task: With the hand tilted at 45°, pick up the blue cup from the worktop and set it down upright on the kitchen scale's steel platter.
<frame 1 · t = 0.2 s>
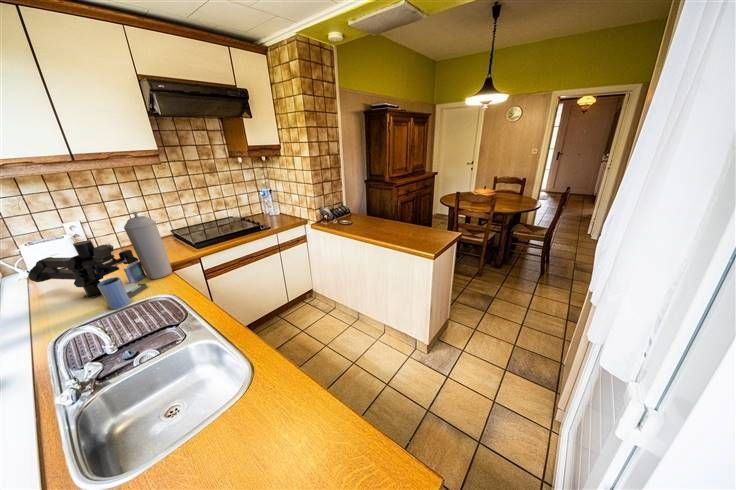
hand: (128, 263, 119), 16 cm above the worktop, tool horizontal, fingers open, 9 cm apart
blue cup: (120, 304, 118), on the worktop
scale: (128, 292, 128), on the worktop
canister: (160, 275, 143), on the worktop
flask: (138, 280, 139), on the worktop
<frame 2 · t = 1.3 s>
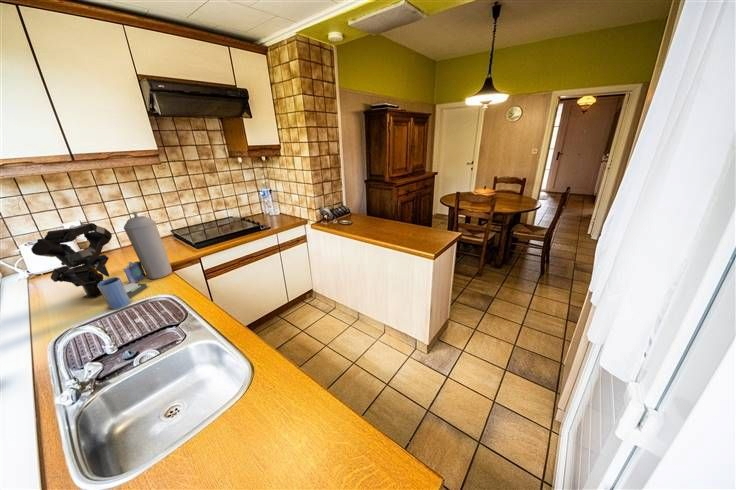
hand: (97, 280, 115), 12 cm above the worktop, tool tilted 45°, fingers open, 9 cm apart
nothing on the worktop moved.
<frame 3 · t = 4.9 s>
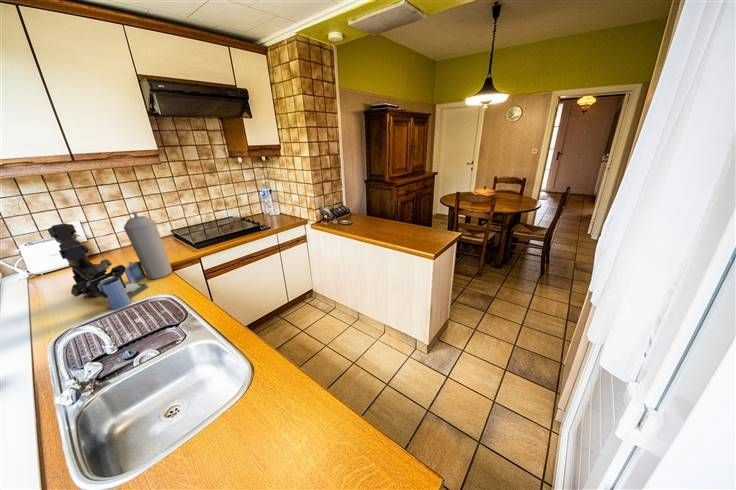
hand: (116, 292, 116), 7 cm above the worktop, tool tilted 45°, fingers closed on blue cup, 7 cm apart
blue cup: (120, 304, 118), on the worktop, touching gripper
everything else where it was.
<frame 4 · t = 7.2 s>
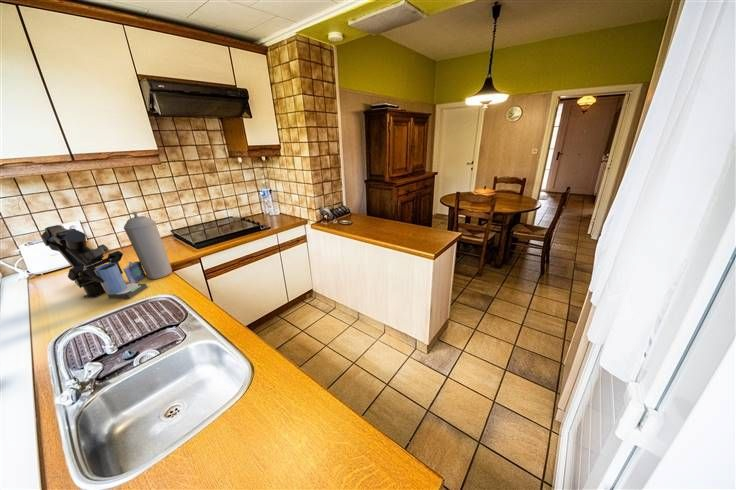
hand: (113, 277, 116), 12 cm above the worktop, tool tilted 45°, fingers closed on blue cup, 7 cm apart
blue cup: (117, 290, 119), point 6 cm above the worktop, touching gripper
everything else where it was.
when the fingers open (9 cm above the worktop, at t = 10.0 s): blue cup stays where it is, resting on scale.
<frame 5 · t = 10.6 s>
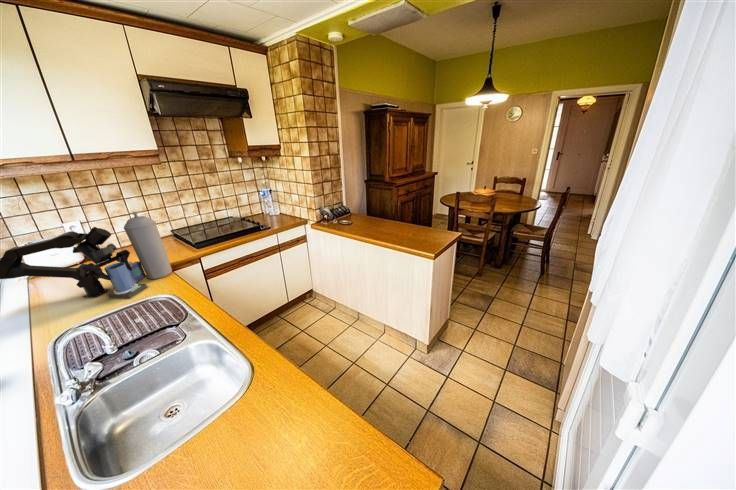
hand: (121, 274, 124), 10 cm above the worktop, tool tilted 45°, fingers open, 9 cm apart
blue cup: (125, 288, 127), point 3 cm above the worktop, touching scale
everything else where it was.
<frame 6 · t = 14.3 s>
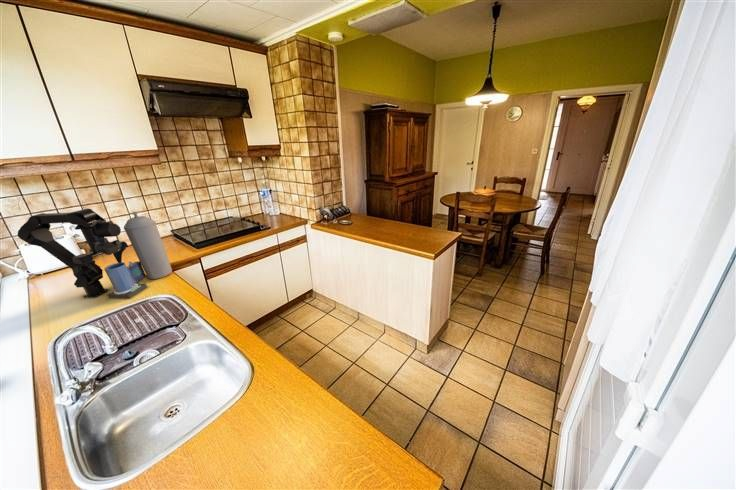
hand: (109, 268, 124), 13 cm above the worktop, tool pointing down, fingers open, 9 cm apart
nothing on the worktop moved.
at the end: blue cup inside the target area on the scale (0.1 cm from its centre), point 2.6 cm above the scale's base; blue cup tilted 0°; the gripper is holding nothing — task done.
